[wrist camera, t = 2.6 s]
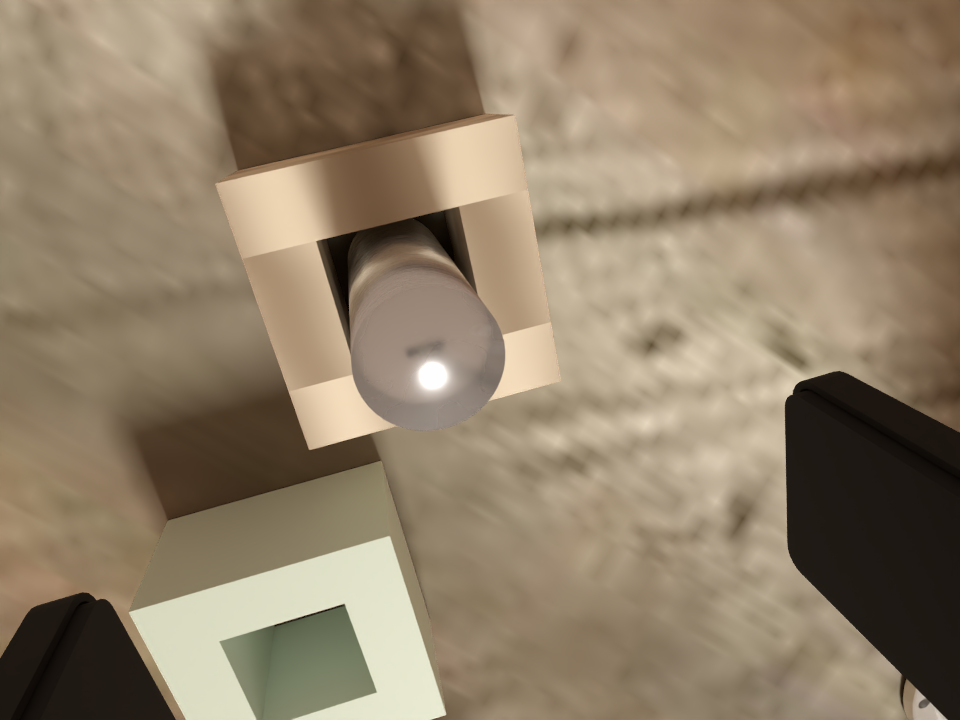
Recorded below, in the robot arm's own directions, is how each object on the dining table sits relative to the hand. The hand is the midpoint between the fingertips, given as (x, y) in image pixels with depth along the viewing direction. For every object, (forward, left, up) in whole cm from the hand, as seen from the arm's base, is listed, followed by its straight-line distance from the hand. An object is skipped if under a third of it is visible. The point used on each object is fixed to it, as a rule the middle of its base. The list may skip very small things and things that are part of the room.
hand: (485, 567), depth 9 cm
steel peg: (0, 0, -21) cm, 21 cm away
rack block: (+8, +14, -21) cm, 26 cm away
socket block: (0, 0, -21) cm, 21 cm away
